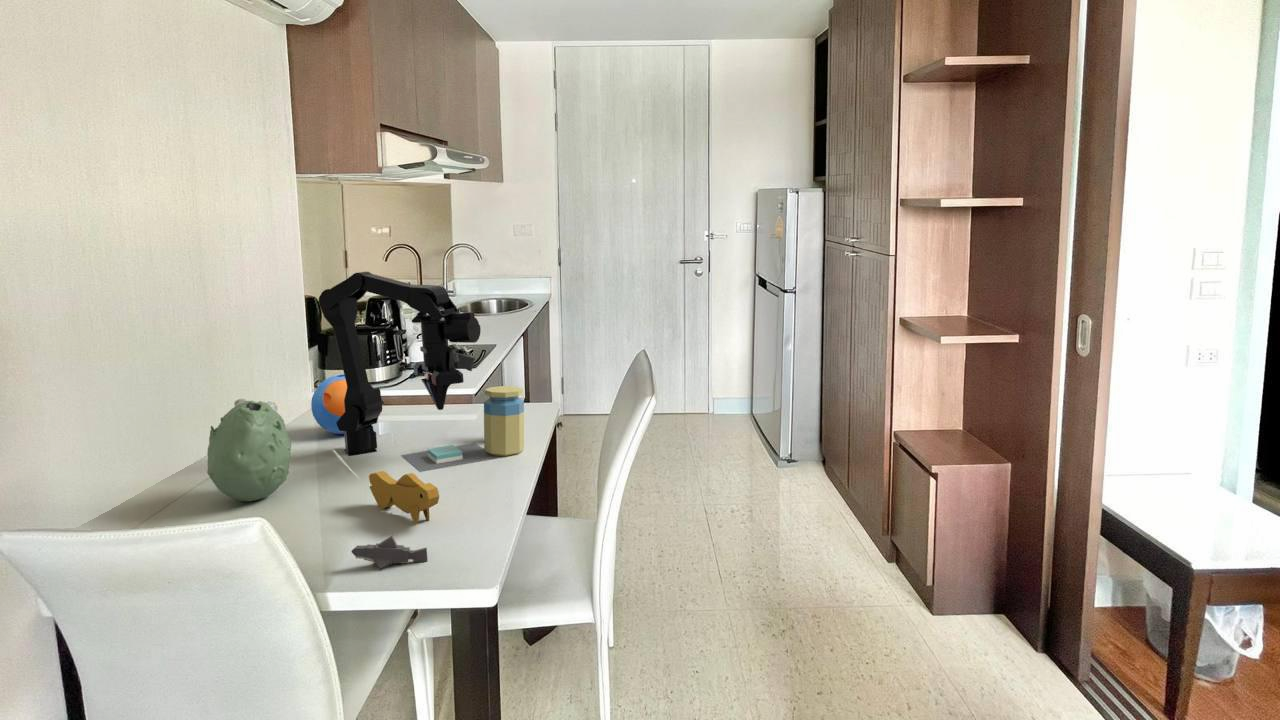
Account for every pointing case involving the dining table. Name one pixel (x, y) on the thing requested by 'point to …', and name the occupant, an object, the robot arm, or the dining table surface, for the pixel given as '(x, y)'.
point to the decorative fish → (404, 493)
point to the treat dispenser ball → (329, 403)
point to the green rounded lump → (249, 451)
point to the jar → (503, 421)
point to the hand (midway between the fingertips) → (440, 409)
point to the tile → (445, 454)
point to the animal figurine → (389, 553)
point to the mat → (469, 456)
